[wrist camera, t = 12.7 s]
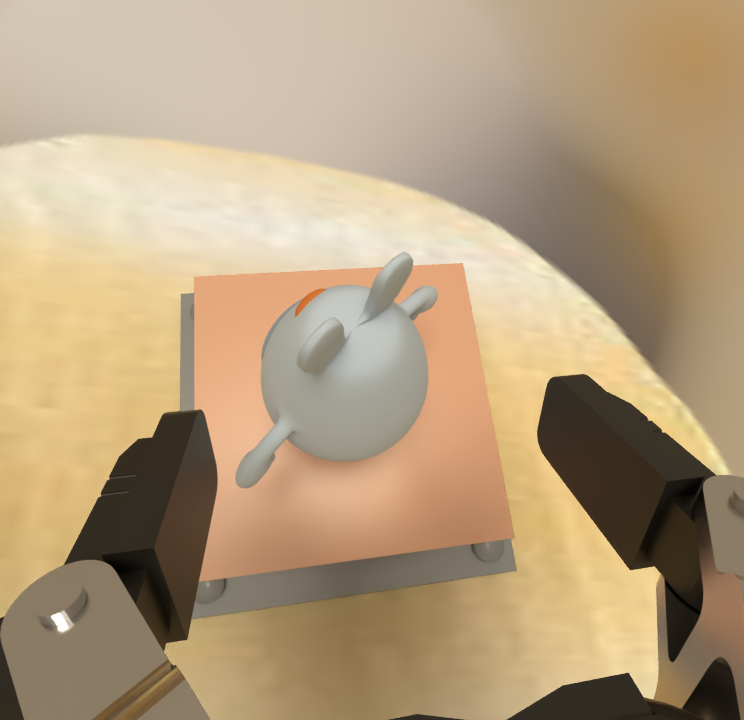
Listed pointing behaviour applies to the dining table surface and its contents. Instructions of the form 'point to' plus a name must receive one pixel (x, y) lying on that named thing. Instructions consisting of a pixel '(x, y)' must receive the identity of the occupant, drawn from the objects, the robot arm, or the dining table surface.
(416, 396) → the toy figure
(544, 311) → the dining table surface
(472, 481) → the orange square pedestal
